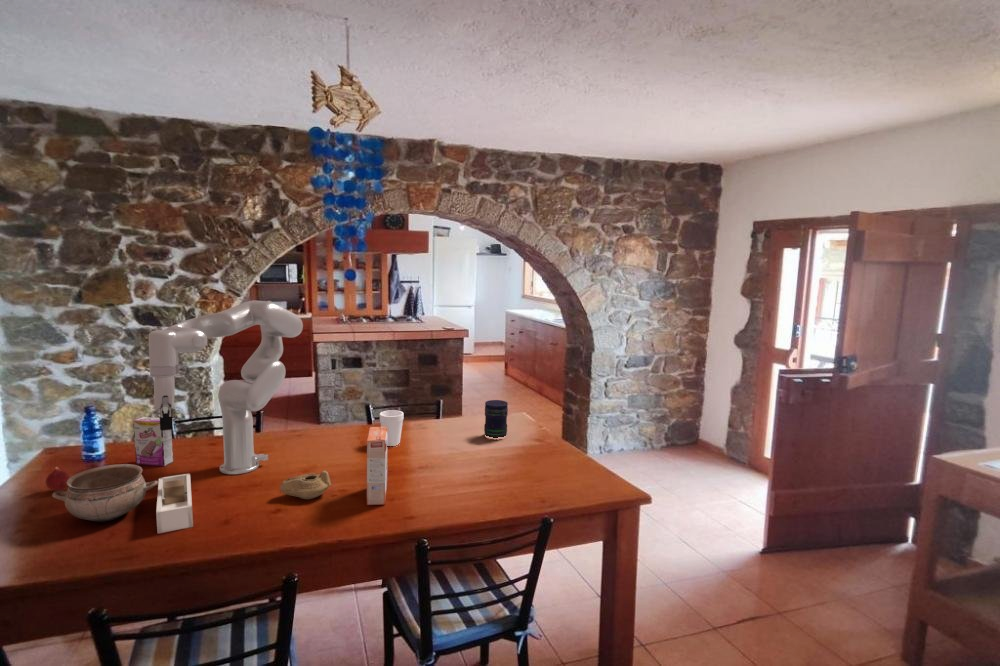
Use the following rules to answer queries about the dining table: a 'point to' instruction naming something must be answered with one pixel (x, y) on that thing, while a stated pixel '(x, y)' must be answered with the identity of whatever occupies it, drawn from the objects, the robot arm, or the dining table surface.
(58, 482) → the onion
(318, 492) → the oil lamp
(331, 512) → the dining table surface
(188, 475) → the box
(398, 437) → the foam cup
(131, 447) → the dining table surface
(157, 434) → the candy bar box
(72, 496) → the cooking pot
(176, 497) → the walnut block
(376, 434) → the cracker box
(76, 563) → the dining table surface
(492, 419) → the storage jar
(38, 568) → the dining table surface
